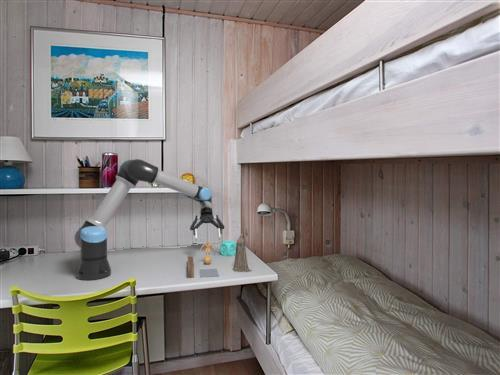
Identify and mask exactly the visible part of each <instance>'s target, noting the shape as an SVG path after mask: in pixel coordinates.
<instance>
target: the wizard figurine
mask: <svg viewBox="0 0 500 375" xmlns="http://www.w3.org/2000/svg"><path fill="white" fill-rule="evenodd" d="M242 229H243V230H242V233H240V235H239V236H238V238H237V240H236V242H235V243H236V254H235V255H234V262H233V268H232V271H233V272H236V273H247V272H252V269H250V268H249V264H248V258H247V257H248V256H247V250H246V239H245V238H246V237H247V236H249V232H248V231H247V230H248V229H247V224H246V222H244V225H243V228H242Z"/></svg>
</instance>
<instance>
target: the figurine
mask: <svg viewBox="0 0 500 375" xmlns="http://www.w3.org/2000/svg"><path fill="white" fill-rule="evenodd" d="M203 247H206V248H205V251H204V252H205V258H204V260H203V262H204V264H205V265H210V264H211V263H212V258H211V256H210V254H211V248H210V247H213V249H214V251H216V248H215V245H213V244H211V243H209V242H208V241H207V242H206V243H204V244H202V246H201V247H200V252H201V251H202V249H203Z"/></svg>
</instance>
